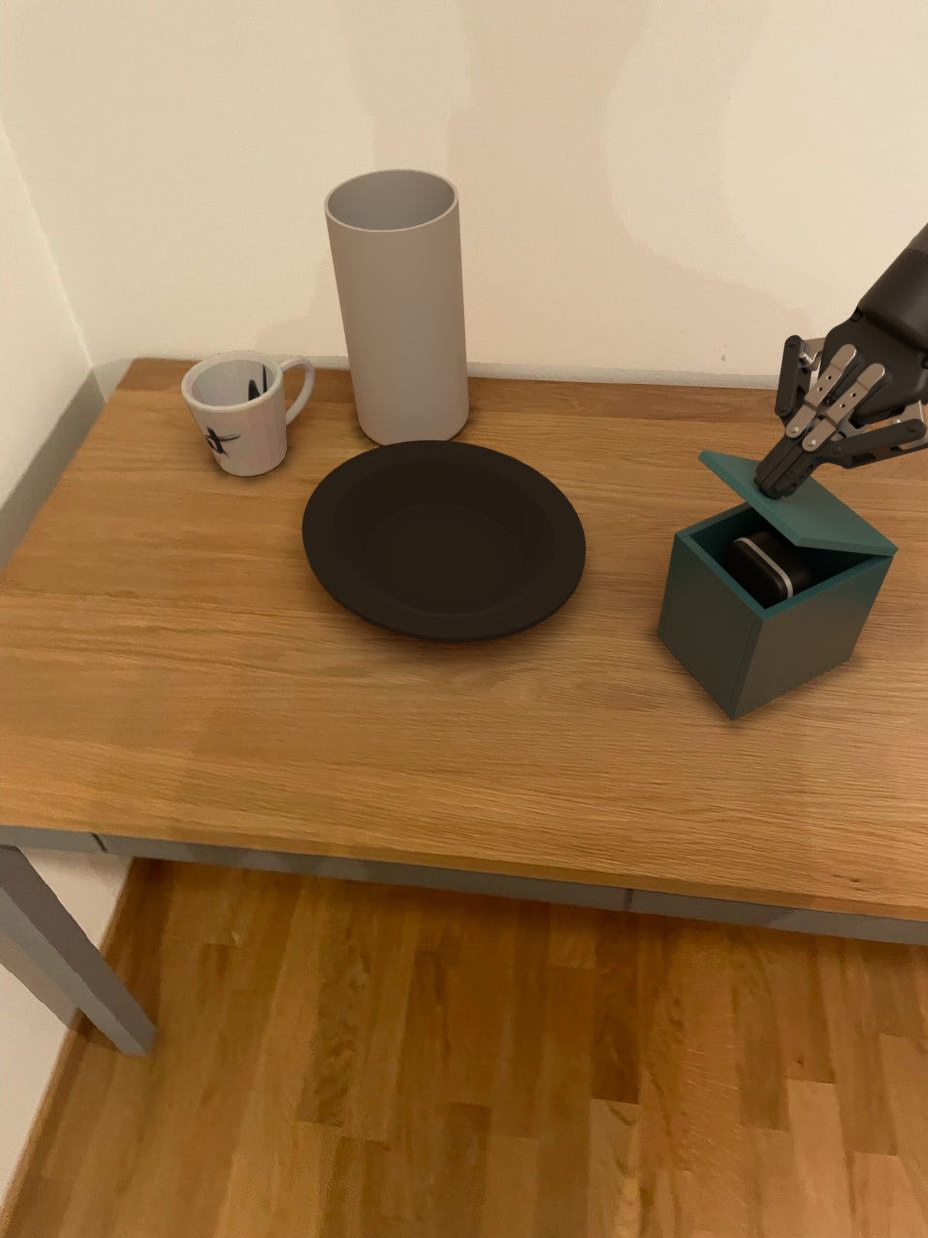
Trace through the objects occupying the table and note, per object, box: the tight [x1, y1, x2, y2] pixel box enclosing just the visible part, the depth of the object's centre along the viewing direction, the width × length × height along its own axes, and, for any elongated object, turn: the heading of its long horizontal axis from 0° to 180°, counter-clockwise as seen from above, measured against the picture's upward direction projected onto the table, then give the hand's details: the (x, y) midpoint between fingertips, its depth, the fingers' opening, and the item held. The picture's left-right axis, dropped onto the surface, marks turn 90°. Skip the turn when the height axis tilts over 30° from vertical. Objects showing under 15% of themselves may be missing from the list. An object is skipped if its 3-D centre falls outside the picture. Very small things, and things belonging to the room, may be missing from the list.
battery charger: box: [722, 531, 812, 610], centre depth 76 cm, size 7×4×11 cm, turn 28°
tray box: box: [656, 501, 895, 721], centre depth 77 cm, size 13×11×13 cm
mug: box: [180, 350, 316, 477], centre depth 99 cm, size 10×15×10 cm
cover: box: [697, 449, 900, 556], centre depth 69 cm, size 14×11×1 cm
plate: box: [301, 440, 587, 645], centre depth 87 cm, size 28×24×6 cm
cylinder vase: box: [323, 168, 470, 446], centre depth 95 cm, size 12×12×25 cm
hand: (764, 490), depth 65 cm, fingers closed
